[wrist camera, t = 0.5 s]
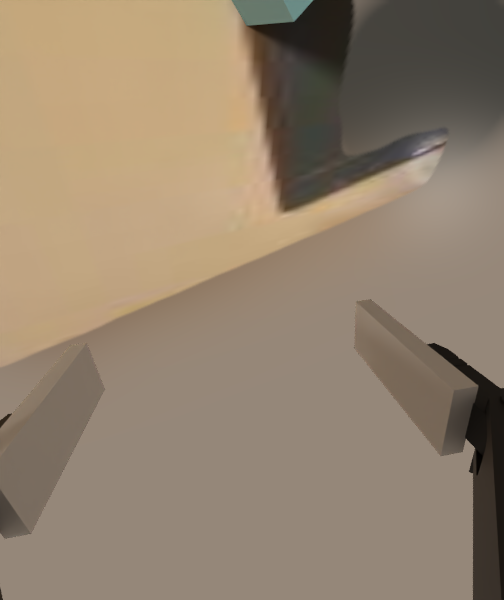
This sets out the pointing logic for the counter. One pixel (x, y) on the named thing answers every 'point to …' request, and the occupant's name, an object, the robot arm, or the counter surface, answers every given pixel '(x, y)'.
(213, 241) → the counter surface
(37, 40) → the counter surface
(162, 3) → the counter surface
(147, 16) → the counter surface
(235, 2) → the teal block
